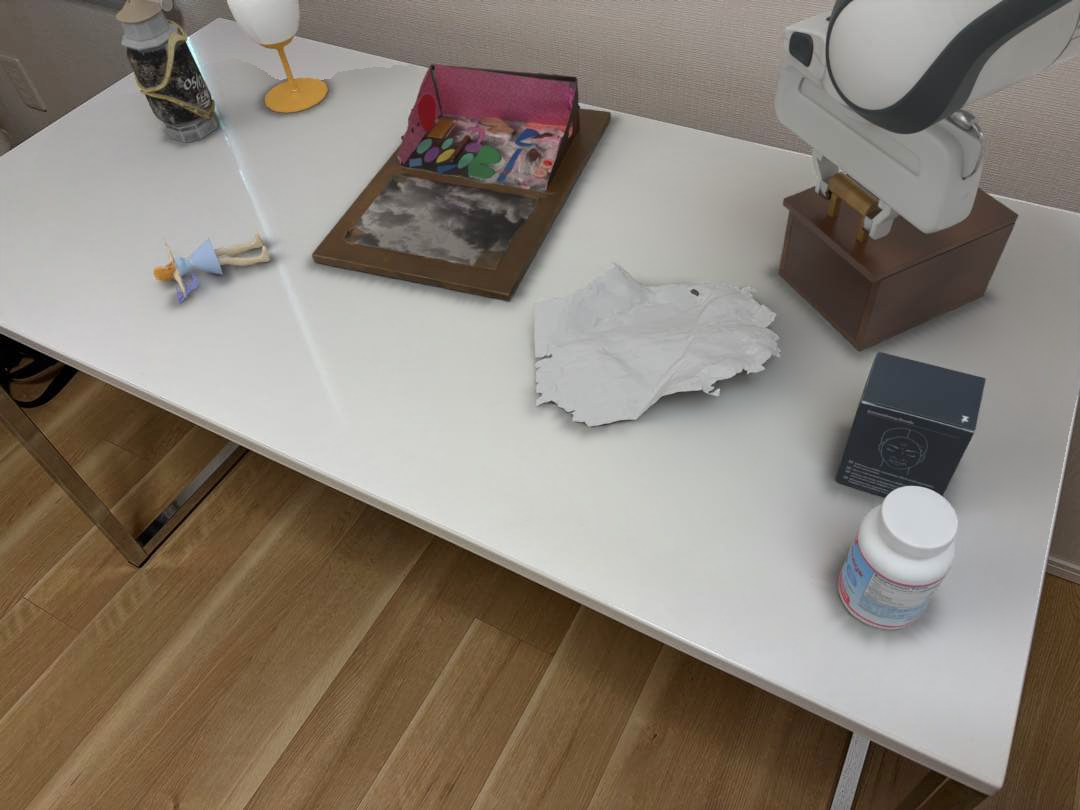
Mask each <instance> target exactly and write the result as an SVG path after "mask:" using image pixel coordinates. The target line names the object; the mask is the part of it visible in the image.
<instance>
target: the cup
mask: <svg viewBox="0 0 1080 810" xmlns="http://www.w3.org/2000/svg"><path fill="white" fill-rule="evenodd" d="M226 3H227V6H228V8H229V10H230V12H231V14H232V17H233V19H234V21H235V22H236V23H237V24H238V26H239V28H240V29H241V31H242V32H243V33H244V34H245V35H246V36H247V37H248V39H250V40H251V41H252V42H254V43H255V44H257V45H259V46H261V47H263V48H265V49H269V50H273V49H274V50H276V51H277V53H278V56H279V58H280V62H281V65H282V67H283V70H284V73H285V76H286V79H287V80H285V81H284V82H281V83H280V84H277V85H276V86H274V87H273V88H272V89H270V90H269V91H268V92H267V93H266V96H265V98H264V104H265V107H266V108H268V109H269V110H271V111H272V112H277V113H281V114H287V113H297V112H298V113H299V112H301V111H304V110H308V109H310V108H312V107H314V106H316V105H319V103H321V102H322V100H324V99H325V98H326V96H327V93H328V91H329V89H328V85H327V83H326V82H324V81H322V80H321V79H319V78H313V77H297V78H294V75H293V73H292V70H291V67H290V64H289V61H288V58H287V55H286V52H285V49H284V48H285V47H286V46H288V45H289V44H290V43H292V41H293V39H294V37H295V36H296V34H297V33H298V30H299V25H300V17H301V15H300V2H299V0H226ZM296 89H297V90H296ZM292 90H296V91H292Z"/></svg>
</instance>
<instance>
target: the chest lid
mask: <svg viewBox="0 0 1080 810" xmlns="http://www.w3.org/2000/svg"><path fill="white" fill-rule="evenodd" d="M815 187H816V185H814V186H811V187H810V188H809V187H808V188H807V189H804V190H802V191H799V192H797V193H794V194H791V195H789V196H786V197H784V198H783V201H782V206H783V207H784V208H785V209H786V210H788V212H789V211H790V212H791V213H792V214H794V215H795V216H796V217H797V218H798V219H799V220H800V221H802V222H803V223H804V224H805V225H806V226H807V227H809V228H810V229H811V230H812V231H813V232H814V233H815V234H817V235H818V236H819V237H820V238H821V239H822V240H823V241H825V242H826V243H827V244H828V245H829V246H830V247H831V248H833V249H834V250H835V251H836V252H837V253H838V254H839V255H841V256H842V257H843V258H844V259H845V260H846V261H848V262H849V263H850V264H851V265H852V266H853V267H854V268H856V269H857V270H858V271H859V272H860V273H861V274H862V275H864V276H865V277H866V278H867V279H868V280H869V281H870V282H872V283H874V282H876V281H878V280H881V279H883V278H886V277H888V276H890V275H893V274H895V273H897V272H900V271H902V270H904V269H907V268H909V267H911V266H914V265H916V264H918V263H921V262H923V261H925V260H928V259H930V258H932V257H935V256H937V255H939V254H942V253H944V252H946V251H949V250H951V249H954V248H956V247H958V246H961V245H963V244H965V243H968V242H970V241H972V240H975V239H977V238H979V237H982V236H984V235H986V234H989V233H991V232H993V231H996V230H998V229H1000V228H1003V227H1005V226H1007V225H1010V224H1012V223H1014V222H1015V223H1016V222H1017V220H1018V218H1019V215H1020V214H1018V213H1017V212H1015V211H1014V210H1012V209H1011V208H1009V207H1008V206H1006V205H1005V204H1004V203H1002V202H1001V201H999V200H998V199H996V198H995V197H994V196H992V195H990V194H989V193H987V192H986V191H984V190H983V189H982V188H980V187H979V186H978V189H977V193H976V197H975V200H974V204H973V207H972V209H971V212H970V214H969V215H968V217H967V218H965V219H964V220H963V221H961V222H959V223H957V224H955V225H953V226H951V227H949V228H946V229H943V230H940V231H937V232H934V233H930V234H926V233H923V232H922V231H920V230H919V229H918V228H916V227H915V226H914V225H912V224H911V223H910V222H909V221H907V220H906V219H905V218H903V217H902V216H901V215H899V216H897V217H896V218H894V220H893V223H892V226H891V229H890V232H889V233H888V234H887V235H886V236H884V237H881V238H879V239H876V240H874V239H872V238H871V237H870V236H869V235H868V234H866V233H865V232H864V231H863V230H862V226H863V225H864V218H865V215H868V214H871V213H875V212H876V211H878V210H880V209H881V208H879V206H878V203H879V200H880V199H879V198H878V197H876V196H875V195H874V194H872V193H871V192H870V191H869V190H867V189H866V188H865V187H863V186H862V185H861V184H859V183H858V182H857V181H856V180H854V179H853V178H852V177H850V176H849V175H848V174H847V173H845V172H844V171H839V173H837V174H835V175H834V176H833V177H832V178H831V179H830V180H829V182H828V189H829V190H830V191H831V192H832V195H831V199H830V200H825V199H824V198H823V197H822V196H820V195H819V194H818V193H817V192H815Z"/></svg>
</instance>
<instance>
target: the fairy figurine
mask: <svg viewBox="0 0 1080 810" xmlns="http://www.w3.org/2000/svg"><path fill="white" fill-rule="evenodd" d="M162 239H163V242H164V245H165V248H166V250H167V256H168V258H169V260H170V263H167V264H166V265H158V266H156V267H154V269H153V277H154V278H155V279H156V280H157V281H161V282H167V281H168V282H170V281H172V280H173V281H174V283H175V282H176V283H175V289H176V296H177V301H178V304H181V303H182V302H183V301H185V299H188V295H189V294H190V292H191V291H192V290H195V289H196V288H197V287H198V286H199V282H198V278H197V276H196V274H195V273H193V272H191V276H192V279H193V280H194V281H192V280H190V278H189V277H187V276H185V275H189V271H190V270H191V269H192V270H193V269H195V270H197V271H200V272H205V273H210V274H215V275H221V276H223V275H224V273H223V270H222V268H221V266H223V265H232V266H237V267H238V266H239V267H247V266H252V265H255V264H259V263H260V264H261V263H268V262H270V261H271V259H270V255H269V252H268V249H267V247H266V245H263V242H262V239H261V236H260V233H259V231H257V230H256V231H255V232H254V240H253V241H251V242H249V243H243V244H241V243H240V244H236V245H232V246H229V247H219V248H214V246H213V244H212V242H211V239H210V238H209V237H207V239H206V240H205V241H203V242H202V244H201V245H199V247H198V248H197V249H195V250H194V252H193V253H191V254H190V255H189V256H188V257H187V256H186V257H185V258H183V257H182V256H176V257H175V258H174V256H173V253H172V251H171V250H170V247H169V245H168V243H167V241H166V239H165V238H164V237H163V238H162ZM260 248H261V254H260V255H259V256H255V257H230V256H237V255H241V254H243V253H245V252H248V251H250V250H253V249H254V250H255V249H260ZM222 256H224V257H222ZM225 256H226V257H225ZM228 256H229V257H228ZM183 277H185V278H186V279H187V280H188V281H185V280H184V278H183ZM190 282H191V283H192V286H191V285H187V284H189V283H190ZM177 284H178V285H179V290H178V286H177ZM180 291H181V292H182V294H181V292H180Z"/></svg>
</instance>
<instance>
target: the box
mask: <svg viewBox="0 0 1080 810" xmlns="http://www.w3.org/2000/svg"><path fill="white" fill-rule="evenodd" d="M986 382H987V379H986V377H984V376H983V377H982V376H978V375H973V374H972V373H971V374H970V373H966V372H962V371H958V370H954V369H950V368H947V367H942V366H938V365H934V364H931V363H926V362H923V361H919V360H914V359H910V358H907V357H902V356H898V355H894V354H890V353H886V352H882V351H877V352H876V354H875V356H874V359H873V362H872V365H871V367H870V370H869V372H868V377H867V378H866V381H865V384H864V388H863V391H862V394H861V396H860V399H859V402H858V405H857V408H856V411H855V415H854V418H853V421H852V424H851V427H850V431H849V434H848V437H847V440H846V444H845V447H844V450H843V453H842V457H841V460H840V462H839V466H838V469H837V472H836V475H835V481H836V482H837V483H839V484H842V485H846V486H848V487H852V488H855V489H859V490H862V491H864V492H867V493H871V494H874V495H878V496H881V497H883V498H886V496H887V495H888V494H889V493H891V492H892V491H893V490H895V489H897V488H900V487H904V486H919V487H924V488H927V489H930V490H932V491H934V492H936V493H938V494H940V495H941V496H942V497H944V495H945V493H946V491H947V490H948V489H947V488H948V487H949V485H950V482H951V480H952V479H953V476H954V474H955V473H956V470H957V469H958V467H959V465H960V463H961V461H962V458H963V457H964V454H965V452H966V450H967V449H968V446H969V444H970V442H971V441H972V438H973V436H974V435H975V432H976V430H977V424H978V419H979V415H980V409H981V405H982V400H983V396H984V391H985V386H986Z"/></svg>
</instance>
